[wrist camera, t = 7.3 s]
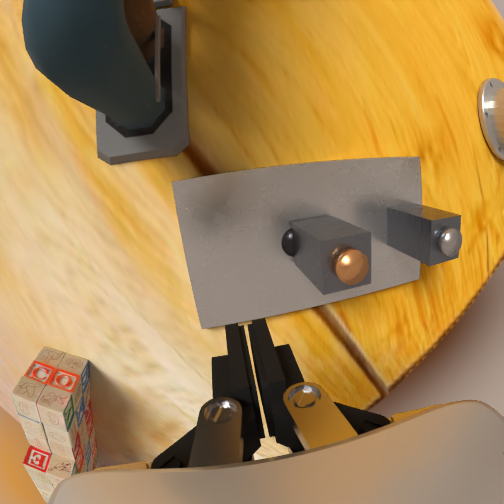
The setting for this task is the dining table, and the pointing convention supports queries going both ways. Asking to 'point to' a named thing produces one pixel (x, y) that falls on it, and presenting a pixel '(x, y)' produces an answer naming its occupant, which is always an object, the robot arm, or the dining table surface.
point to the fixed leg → (424, 233)
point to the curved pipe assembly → (117, 69)
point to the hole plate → (286, 232)
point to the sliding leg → (332, 253)
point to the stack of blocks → (56, 418)
